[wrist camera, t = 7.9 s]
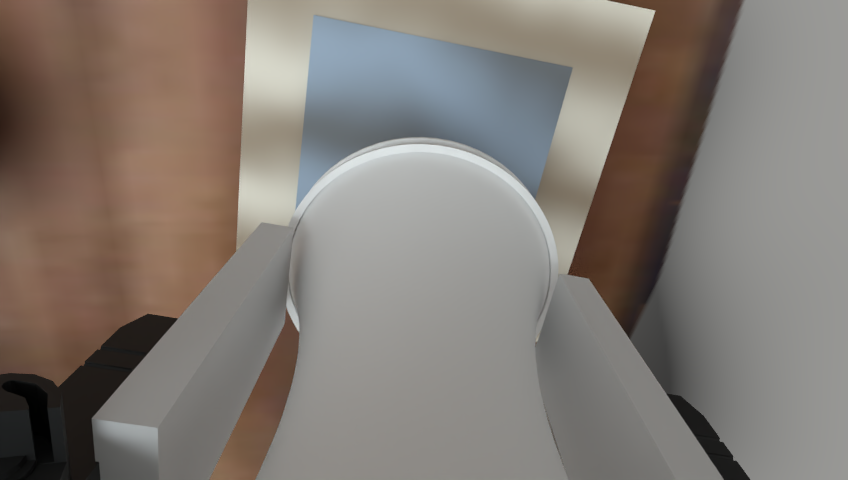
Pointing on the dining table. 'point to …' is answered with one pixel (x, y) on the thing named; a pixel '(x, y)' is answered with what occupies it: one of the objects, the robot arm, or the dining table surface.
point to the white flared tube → (417, 321)
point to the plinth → (436, 93)
